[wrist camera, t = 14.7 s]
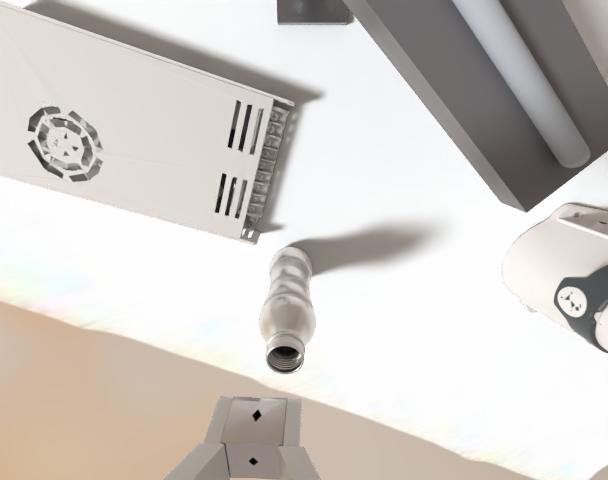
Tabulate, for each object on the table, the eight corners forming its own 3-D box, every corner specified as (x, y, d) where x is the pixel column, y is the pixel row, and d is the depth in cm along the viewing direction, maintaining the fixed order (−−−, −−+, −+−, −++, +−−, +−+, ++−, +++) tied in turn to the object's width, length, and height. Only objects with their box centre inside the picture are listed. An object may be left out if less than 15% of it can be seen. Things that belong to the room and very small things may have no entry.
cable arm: (252, -115, 17) (235, -197, 12) (351, -273, 14) (373, -438, 10) (501, 202, 24) (543, 219, 20) (590, 131, 22) (659, 133, 18)
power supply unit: (260, 232, 44) (256, 245, 39) (32, 169, 39) (-3, 175, 35) (295, 104, 37) (294, 101, 32) (23, 10, 32) (-23, -8, 28)
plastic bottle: (307, 238, 43) (311, 325, 25) (315, 275, 46) (324, 379, 27) (266, 246, 44) (241, 337, 25) (276, 283, 46) (261, 390, 28)
